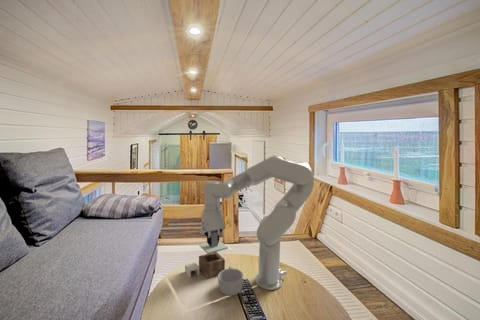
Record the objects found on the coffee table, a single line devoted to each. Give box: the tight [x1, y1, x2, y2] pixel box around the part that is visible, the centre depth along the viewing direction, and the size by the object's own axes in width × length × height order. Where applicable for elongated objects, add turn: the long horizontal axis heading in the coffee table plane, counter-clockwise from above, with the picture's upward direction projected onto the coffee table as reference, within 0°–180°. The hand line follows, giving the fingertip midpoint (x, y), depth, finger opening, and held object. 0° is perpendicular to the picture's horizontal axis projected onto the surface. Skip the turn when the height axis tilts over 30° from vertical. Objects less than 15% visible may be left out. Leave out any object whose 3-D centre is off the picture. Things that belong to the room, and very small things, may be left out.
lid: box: [198, 230, 228, 254], centre depth 120 cm, size 10×10×8 cm
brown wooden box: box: [198, 252, 226, 280], centre depth 122 cm, size 10×10×8 cm
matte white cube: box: [184, 261, 200, 279], centre depth 120 cm, size 5×6×5 cm
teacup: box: [217, 266, 244, 297], centre depth 109 cm, size 14×11×8 cm
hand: (213, 243), depth 121 cm, fingers closed on lid, 3 cm apart
